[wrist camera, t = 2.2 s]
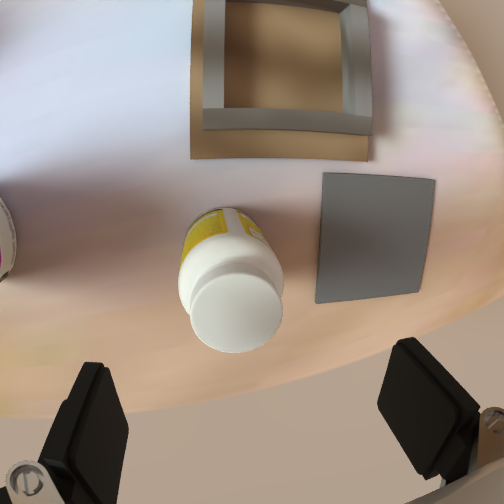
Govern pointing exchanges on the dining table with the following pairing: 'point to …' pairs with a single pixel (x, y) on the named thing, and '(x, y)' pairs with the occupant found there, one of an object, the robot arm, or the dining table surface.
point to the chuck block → (280, 79)
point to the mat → (372, 236)
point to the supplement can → (6, 242)
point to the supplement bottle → (230, 282)
